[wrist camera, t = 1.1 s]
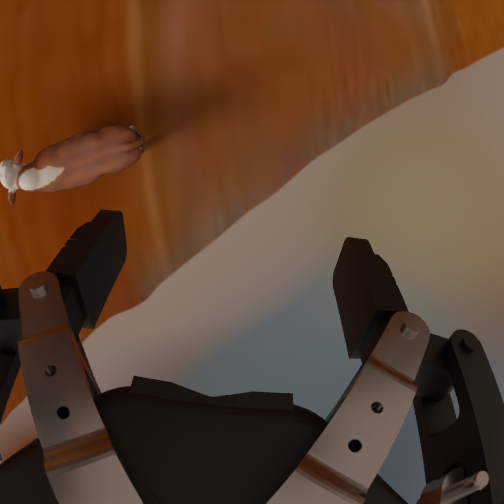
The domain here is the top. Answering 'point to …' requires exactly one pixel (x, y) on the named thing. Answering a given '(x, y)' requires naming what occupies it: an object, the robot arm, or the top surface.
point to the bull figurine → (74, 161)
